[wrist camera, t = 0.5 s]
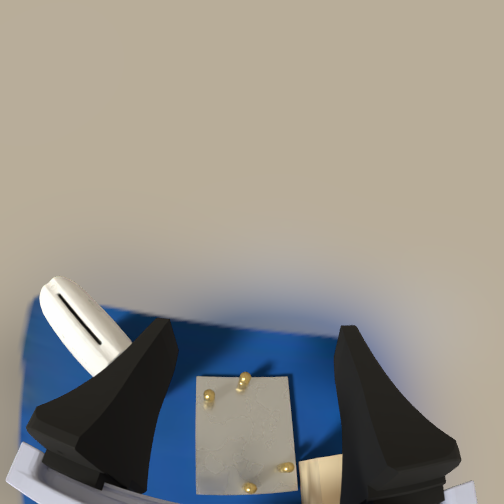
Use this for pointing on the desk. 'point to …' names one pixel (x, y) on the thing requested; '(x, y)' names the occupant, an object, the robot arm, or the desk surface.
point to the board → (321, 480)
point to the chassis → (244, 436)
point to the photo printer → (82, 324)
